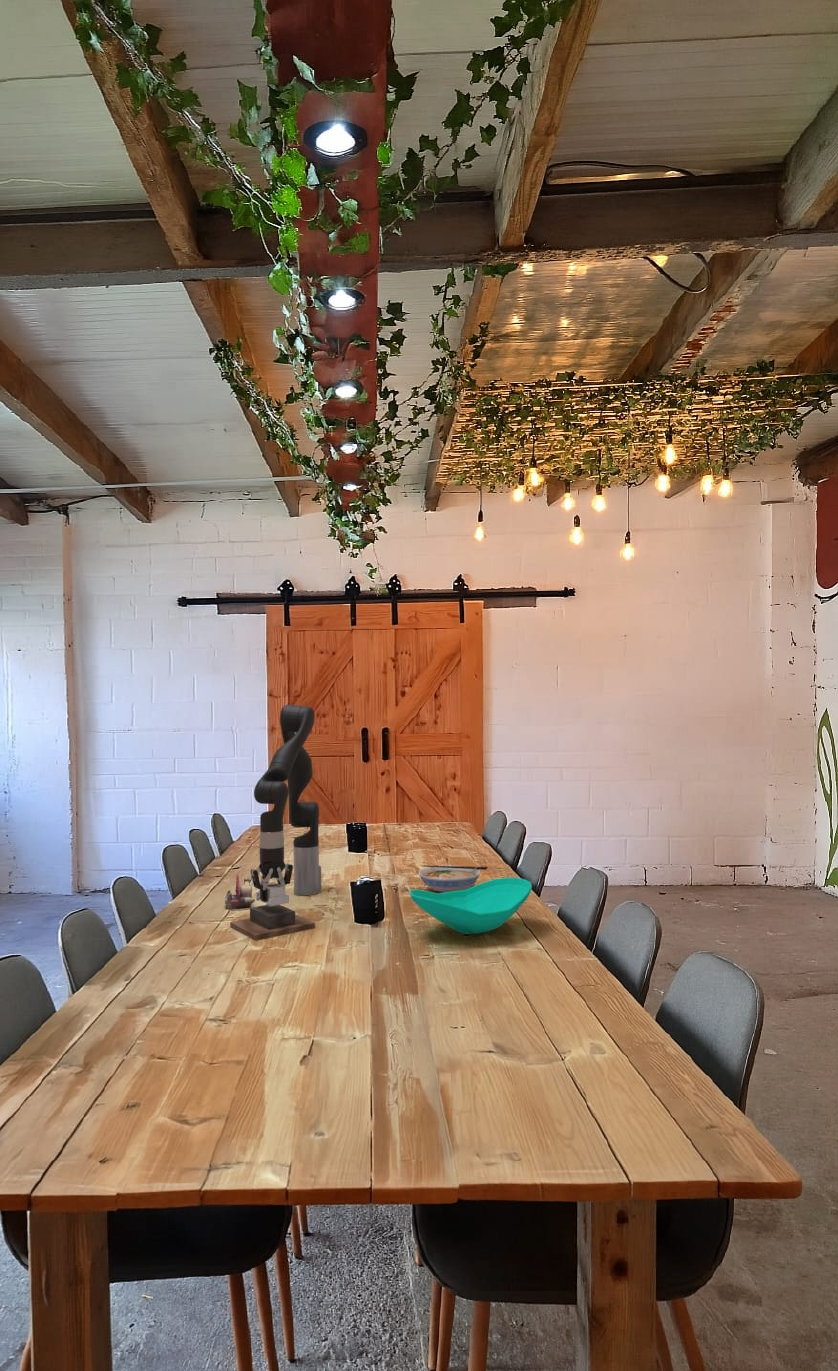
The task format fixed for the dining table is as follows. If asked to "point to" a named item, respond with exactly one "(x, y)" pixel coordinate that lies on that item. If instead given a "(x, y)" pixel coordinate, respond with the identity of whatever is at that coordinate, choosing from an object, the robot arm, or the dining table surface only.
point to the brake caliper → (240, 896)
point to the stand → (271, 922)
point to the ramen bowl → (450, 877)
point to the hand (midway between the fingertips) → (272, 899)
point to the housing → (275, 894)
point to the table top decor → (475, 904)
